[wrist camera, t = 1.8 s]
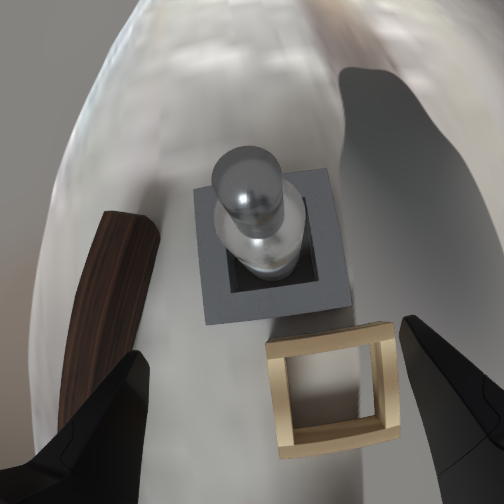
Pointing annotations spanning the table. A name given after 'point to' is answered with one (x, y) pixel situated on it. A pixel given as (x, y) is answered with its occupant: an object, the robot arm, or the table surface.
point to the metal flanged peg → (258, 212)
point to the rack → (346, 432)
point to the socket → (285, 297)
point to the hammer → (107, 305)
